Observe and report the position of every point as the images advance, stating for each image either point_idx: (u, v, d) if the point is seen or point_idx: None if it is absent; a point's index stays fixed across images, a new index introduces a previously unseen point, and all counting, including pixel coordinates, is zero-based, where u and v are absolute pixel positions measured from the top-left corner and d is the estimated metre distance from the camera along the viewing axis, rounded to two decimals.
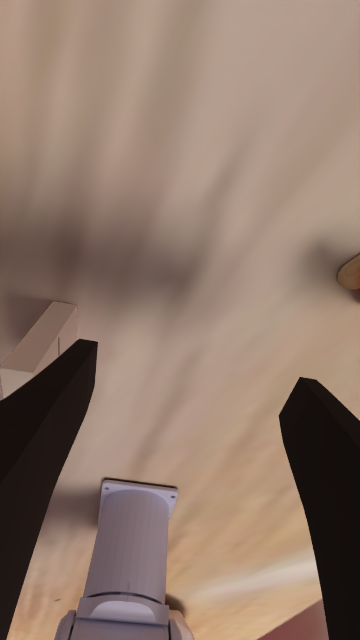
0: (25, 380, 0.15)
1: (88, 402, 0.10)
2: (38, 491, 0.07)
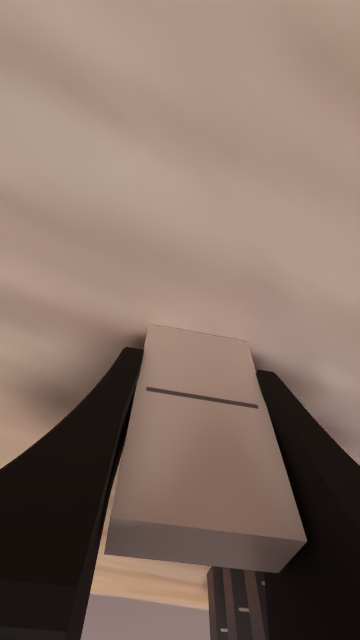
0: (135, 530, 0.06)
1: None
2: (106, 500, 0.07)
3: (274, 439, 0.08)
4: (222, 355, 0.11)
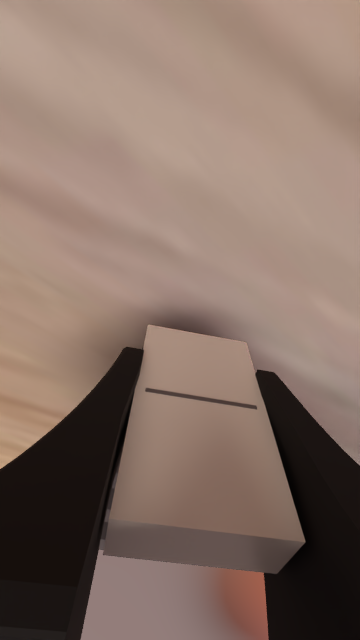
0: (133, 531, 0.06)
1: None
2: (106, 499, 0.07)
3: (273, 440, 0.08)
4: (221, 356, 0.11)
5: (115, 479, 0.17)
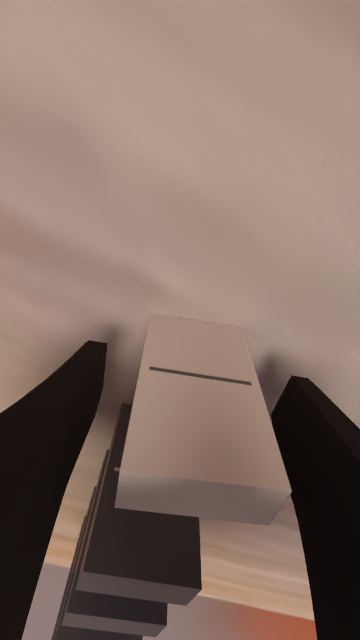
0: (141, 482, 0.07)
1: (97, 403, 0.10)
2: (52, 493, 0.07)
3: (265, 410, 0.09)
4: (219, 340, 0.12)
5: (70, 619, 0.12)
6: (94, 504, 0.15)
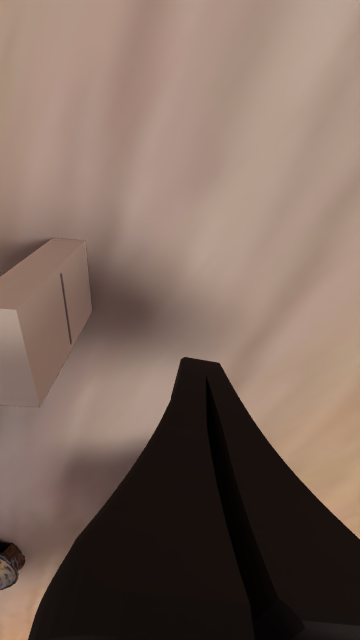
0: (6, 324, 0.09)
1: None
2: None
3: (63, 363, 0.13)
4: (83, 303, 0.15)
5: None
6: None
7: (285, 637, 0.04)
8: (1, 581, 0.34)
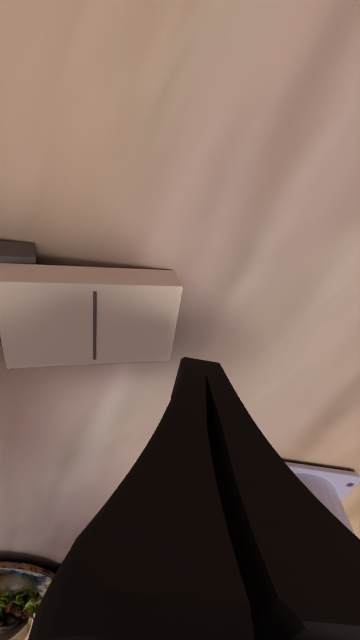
0: None
1: None
2: None
3: (68, 364, 0.13)
4: (147, 342, 0.14)
5: None
6: None
7: (285, 637, 0.04)
8: None
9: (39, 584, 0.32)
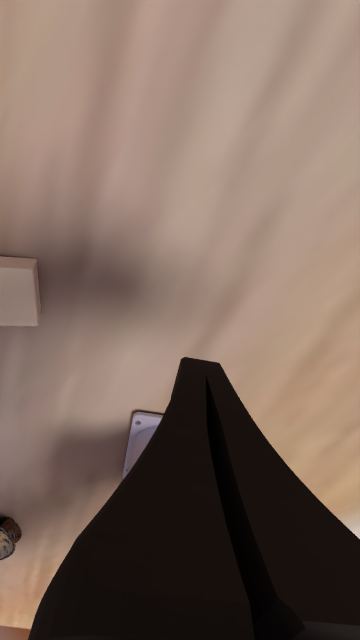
0: None
1: None
2: None
3: None
4: (14, 310, 0.19)
5: None
6: None
7: (285, 637, 0.04)
8: (0, 552, 0.38)
9: None
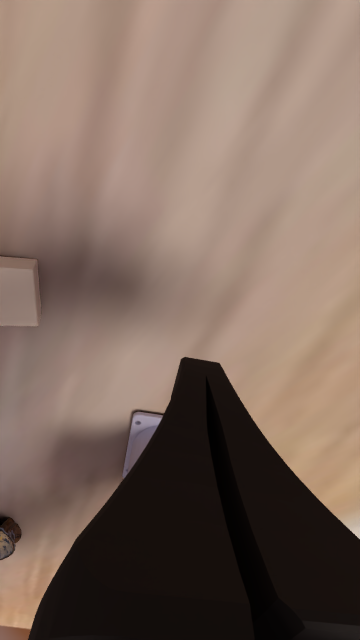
0: None
1: None
2: None
3: None
4: (14, 310, 0.19)
5: None
6: None
7: (285, 637, 0.04)
8: (0, 552, 0.38)
9: None
